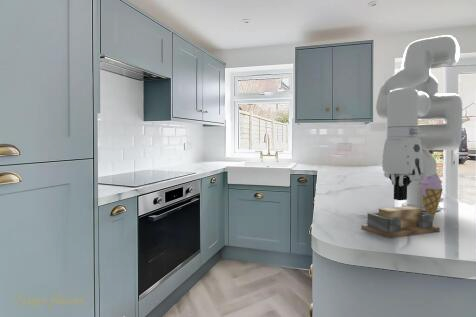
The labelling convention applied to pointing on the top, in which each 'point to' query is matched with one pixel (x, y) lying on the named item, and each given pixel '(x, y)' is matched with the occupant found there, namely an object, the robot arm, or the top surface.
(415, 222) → the beige rectangular block
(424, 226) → the rail
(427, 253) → the top surface
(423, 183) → the ice cream cone
